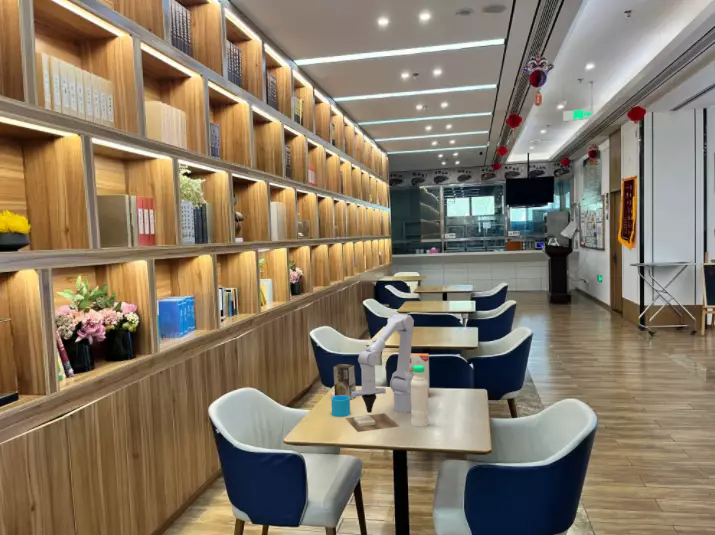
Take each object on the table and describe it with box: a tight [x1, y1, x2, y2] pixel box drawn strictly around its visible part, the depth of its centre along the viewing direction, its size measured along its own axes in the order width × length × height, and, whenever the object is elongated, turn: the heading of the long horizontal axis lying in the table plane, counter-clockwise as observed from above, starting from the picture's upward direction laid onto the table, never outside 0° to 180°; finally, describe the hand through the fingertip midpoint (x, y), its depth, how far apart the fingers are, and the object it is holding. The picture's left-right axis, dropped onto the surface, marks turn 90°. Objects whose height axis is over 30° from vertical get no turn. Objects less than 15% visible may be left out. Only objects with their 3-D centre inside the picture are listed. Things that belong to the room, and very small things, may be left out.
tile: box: [353, 415, 375, 427], centre depth 219 cm, size 2×8×7 cm
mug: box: [330, 395, 351, 418], centre depth 234 cm, size 12×8×8 cm
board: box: [345, 412, 400, 433], centre depth 220 cm, size 18×18×1 cm
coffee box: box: [333, 363, 357, 401], centre depth 260 cm, size 9×6×16 cm
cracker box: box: [400, 352, 430, 398], centre depth 260 cm, size 14×6×21 cm, turn 81°
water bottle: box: [410, 365, 430, 427], centre depth 216 cm, size 7×7×25 cm
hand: (369, 412), depth 219 cm, fingers closed
